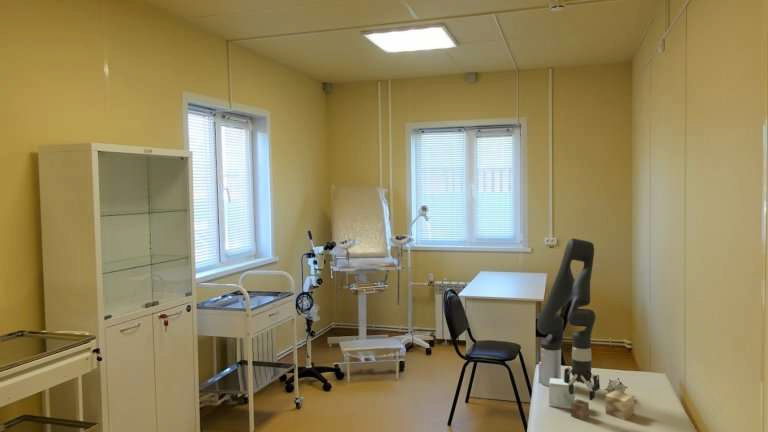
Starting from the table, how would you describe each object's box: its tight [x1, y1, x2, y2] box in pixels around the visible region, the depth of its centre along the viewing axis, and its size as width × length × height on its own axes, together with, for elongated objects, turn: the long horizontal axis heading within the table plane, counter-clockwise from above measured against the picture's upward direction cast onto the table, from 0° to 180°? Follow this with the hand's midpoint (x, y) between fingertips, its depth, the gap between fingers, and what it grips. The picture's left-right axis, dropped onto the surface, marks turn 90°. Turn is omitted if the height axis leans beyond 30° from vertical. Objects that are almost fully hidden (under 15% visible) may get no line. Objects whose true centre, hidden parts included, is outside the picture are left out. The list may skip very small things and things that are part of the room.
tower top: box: [604, 390, 635, 411], centre depth 228 cm, size 8×8×4 cm
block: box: [570, 398, 590, 421], centre depth 226 cm, size 5×5×6 cm
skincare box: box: [548, 378, 576, 410], centre depth 238 cm, size 10×6×10 cm, turn 70°
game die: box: [604, 377, 629, 394], centre depth 246 cm, size 9×8×10 cm
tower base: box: [605, 405, 635, 421], centre depth 228 cm, size 8×8×4 cm
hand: (581, 396), depth 226 cm, fingers open, 8 cm apart
